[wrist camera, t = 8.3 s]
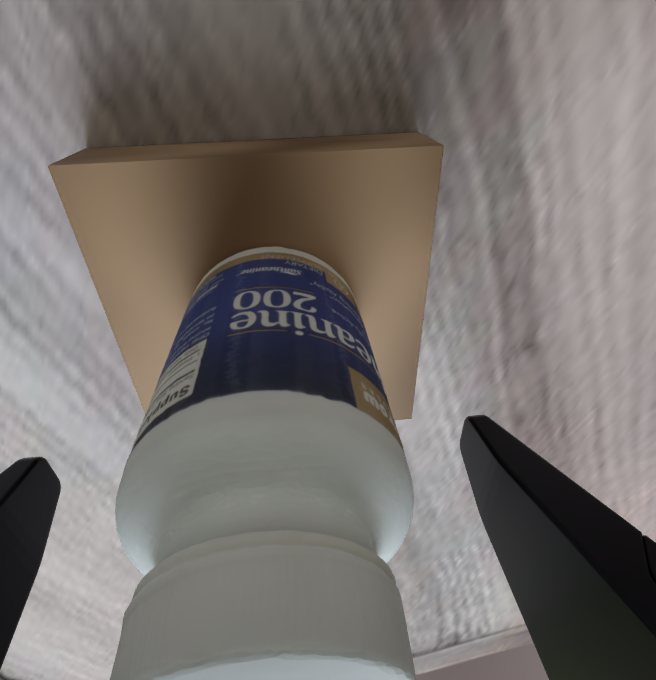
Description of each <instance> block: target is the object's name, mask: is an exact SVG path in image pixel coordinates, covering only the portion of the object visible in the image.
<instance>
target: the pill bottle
mask: <svg viewBox="0 0 656 680" xmlns="http://www.w3.org/2000/svg"><path fill="white" fill-rule="evenodd" d="M413 504H414V495H413V486H412V480H411V474H410V471H409V468H408V464H407V461H406V457H405V454H404V450H403V446H402V443H401V440H400V437H399V434H398V431H397V428H396V424H395V421H394V418H393V415H392V412H391V409H390V406H389V403H388V398H387V395H386V392H385V389H384V386H383V382H382V379H381V376H380V373H379V370H378V367H377V364H376V361H375V358H374V355H373V351H372V348H371V345H370V342H369V339H368V335H367V332H366V329H365V326H364V323H363V320H362V317H361V314H360V311H359V309H358V306H357V302H356V300H355V298H354V295H353V293H352V291H351V289H350V288H349V286H348V284H347V283H346V281H345V280H344V279H343V277H341V276H340V275H339V274H338V273H337V272H336V271H335V270H334V269H333V268H332V267H331V266H329V265H328V264H327V263H325V262H324V261H322V260H320V259H318V258H317V257H315V256H313V255H310V254H308V253H305V252H302V251H298V250H294V249H287V248H283V247H260V248H254V249H250V250H245V251H243V252H240V253H237V254H235V255H233V256H231V257H229V258H227V259H225V260H223V261H222V262H220V263H219V264H217V265H216V266H215V267H214V268H212V269H211V270H210V271H209V272H208V273H207V274H206V275H205V276H204V277H203V279H202V280H201V282H200V283H199V285H198V286H197V288H196V290H195V291H194V294H193V296H192V298H191V300H190V302H189V304H188V307H187V309H186V312H185V314H184V316H183V319H182V322H181V324H180V327H179V330H178V332H177V334H176V337H175V339H174V342H173V344H172V347H171V349H170V352H169V355H168V357H167V360H166V362H165V365H164V368H163V370H162V372H161V375H160V377H159V380H158V383H157V386H156V388H155V391H154V394H153V396H152V399H151V401H150V404H149V407H148V409H147V411H146V414H145V417H144V420H143V422H142V425H141V427H140V429H139V432H138V435H137V438H136V440H135V442H134V445H133V448H132V451H131V454H130V456H129V458H128V460H127V463H126V465H125V468H124V472H123V476H122V479H121V482H120V486H119V489H118V493H117V498H116V509H115V513H116V526H117V532H118V535H119V538H120V541H121V544H122V546H123V548H124V550H125V552H126V553H127V555H128V557H129V558H130V560H131V561H132V563H133V564H134V565H135V567H136V568H137V569H138V570H139V571H140V572H141V573H142V574H143V575H144V578H143V579H142V580H141V581H140V583H139V584H138V586H137V588H136V590H135V592H134V595H133V598H132V601H131V603H130V605H129V606H128V608H127V610H126V611H125V613H124V618H123V625H122V632H121V637H120V641H119V646H118V650H117V654H116V658H115V662H114V666H113V670H112V673H111V677H110V680H416V677H415V670H414V664H413V659H412V653H411V648H410V642H409V637H408V632H407V626H406V621H405V615H404V610H403V605H402V600H401V596H400V592H399V590H398V588H397V586H396V581H395V577H394V575H393V573H392V571H391V569H390V568H389V566H388V565H387V563H388V562H389V560H390V559H391V558H392V557H393V556H394V555H395V553H396V552H397V551H398V549H399V547H400V546H401V544H402V542H403V540H404V538H405V536H406V534H407V532H408V529H409V527H410V523H411V519H412V514H413Z"/></svg>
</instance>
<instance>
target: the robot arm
mask: <svg viewBox="0 0 656 680" xmlns="http://www.w3.org/2000/svg"><path fill="white" fill-rule="evenodd" d="M460 450H461V454H462V457H463V460H464V464H465V467H466V470H467V474H468V477H469V480H470V484H471V487H472V490H473V494H474V497H475V500H476V504H477V507H478V510H479V513H480V516H481V519H482V521H483V524H484V526H485V529H486V531H487V534H488V536H489V538H490V541H491V543H492V545H493V548H494V550H495V553H496V555H497V557H498V560H499V562H500V564H501V567H502V569H503V571H504V574H505V576H506V579H507V581H508V583H509V586H510V588H511V590H512V593H513V595H514V598H515V600H516V602H517V605H518V607H519V609H520V612H521V614H522V616H523V619H524V621H525V624H526V626H527V628H528V631H529V633H530V635H531V638H532V640H533V643H534V645H535V647H536V650H537V652H538V654H539V657H540V659H541V661H542V663H543V666H544V669H545V671H546V673H547V676H548V678H549V680H656V543H655V542H654V541H653V540H651V539H650V538H649V537H647V536H645V535H644V536H642V533H641V532H640V531H639V530H638V529H636V528H635V527H634V526H632V525H631V524H630V523H628V522H627V521H626V520H624V519H623V518H622V517H620V516H619V515H618V514H616V513H615V512H614V511H612V510H611V509H610V508H608V507H607V506H606V505H604V504H603V503H602V502H600V501H599V500H598V499H597V498H595V497H594V496H593V495H591V494H590V493H589V492H587V491H586V490H585V489H583V488H582V487H581V486H579V485H578V484H577V483H575V482H574V481H573V480H571V479H570V478H569V477H567V476H566V475H565V474H563V473H562V472H561V471H559V470H558V469H557V468H555V467H554V466H553V465H551V464H550V463H549V462H547V461H546V460H545V459H543V458H542V457H541V456H539V455H538V454H537V453H535V452H534V451H533V450H531V449H530V448H529V447H527V446H526V445H525V444H523V443H522V442H521V441H519V440H518V439H517V438H515V437H514V436H513V435H511V434H510V433H509V432H507V431H506V430H505V429H503V428H502V427H501V426H499V425H498V424H497V423H495V422H494V421H493V420H491V419H490V418H489V417H487V416H485V415H476V416H468V417H467V418H466V419H465V421H464V426H463V430H462V435H461V439H460ZM60 490H61V485H60V481H59V479H58V477H57V476H56V474H55V472H54V471H53V469H52V468H51V466H50V465H49V463H48V461H47V460H46V459H45V458H43V457H31V458H23V459H20V460H18V461H17V462H15V463H14V464H12V465H11V466H10V467H9V468H7V469H6V470H5V471H3V472H2V473H1V474H0V669H1V666H2V664H3V661H4V659H5V656H6V653H7V651H8V648H9V646H10V643H11V640H12V638H13V635H14V633H15V630H16V627H17V625H18V622H19V620H20V617H21V614H22V612H23V609H24V607H25V604H26V601H27V599H28V596H29V593H30V591H31V588H32V586H33V583H34V580H35V578H36V575H37V572H38V569H39V567H40V564H41V560H42V557H43V554H44V550H45V547H46V543H47V539H48V536H49V532H50V528H51V525H52V521H53V517H54V513H55V510H56V506H57V502H58V499H59V495H60Z"/></svg>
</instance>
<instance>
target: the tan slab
mask: <svg viewBox="0 0 656 680" xmlns="http://www.w3.org/2000/svg"><path fill="white" fill-rule="evenodd" d="M443 147H444V145H442V144H440V143H438V142H436V141H434V140H432V139H431V138H429V137H427V136H425V135H423V134H421V133H419V132H410V133H390V134H370V135H349V136H329V137H309V138H289V139H268V140H248V141H228V142H208V143H187V144H167V145H147V146H127V147H106V148H86V149H84V150H81V151H79V152H77V153H75V154H73V155H70V156H68V157H66V158H64V159H62V160H59V161H57V162H55V163H53V164H51V165H49V166H48V168H49V170H50V173H51V175H52V178H53V181H54V183H55V186H56V188H57V191H58V193H59V196H60V198H61V201H62V203H63V206H64V208H65V211H66V214H67V216H68V219H69V221H70V224H71V226H72V229H73V231H74V234H75V236H76V239H77V242H78V244H79V247H80V249H81V252H82V254H83V257H84V259H85V262H86V264H87V267H88V270H89V272H90V275H91V277H92V280H93V282H94V285H95V287H96V290H97V292H98V295H99V298H100V300H101V303H102V305H103V308H104V310H105V313H106V315H107V318H108V320H109V323H110V326H111V328H112V331H113V333H114V336H115V338H116V341H117V343H118V346H119V348H120V351H121V354H122V356H123V359H124V361H125V364H126V366H127V369H128V371H129V374H130V376H131V379H132V382H133V384H134V387H135V389H136V392H137V394H138V397H139V399H140V402H141V404H142V407H143V410H144V412H145V414H146V411H147V409H148V407H149V404H150V401H151V399H152V396H153V394H154V391H155V388H156V386H157V383H158V380H159V377H160V375H161V372H162V370H163V368H164V365H165V362H166V360H167V357H168V355H169V352H170V349H171V347H172V344H173V342H174V339H175V337H176V334H177V332H178V330H179V327H180V324H181V322H182V319H183V316H184V314H185V312H186V309H187V307H188V304H189V302H190V300H191V298H192V296H193V294H194V291H195V290H196V288H197V286H198V285H199V283H200V282H201V280H202V279H203V277H204V276H205V275H206V274H207V273H208V272H209V271H210V270H211V269H212V268H214V267H215V266H216V265H217V264H219V263H220V262H222V261H223V260H225V259H227V258H229V257H231V256H233V255H235V254H237V253H240V252H243V251H245V250H250V249H254V248H260V247H283V248H287V249H294V250H298V251H302V252H305V253H308V254H310V255H313V256H315V257H317V258H318V259H320V260H322V261H324V262H325V263H327V264H328V265H329V266H331V267H332V268H333V269H334V270H335V271H336V272H337V273H338V274H339V275H340V276H341V277H343V279H344V280H345V281H346V283H347V284H348V286H349V288H350V289H351V291H352V293H353V295H354V298H355V300H356V302H357V306H358V309H359V311H360V314H361V317H362V320H363V323H364V326H365V329H366V332H367V335H368V339H369V342H370V345H371V348H372V351H373V355H374V358H375V361H376V364H377V367H378V370H379V373H380V376H381V379H382V382H383V386H384V389H385V392H386V395H387V398H388V403H389V406H390V409H391V412H392V415H393V418H394V420H402V419H412V410H413V402H414V393H415V385H416V376H417V368H418V359H419V351H420V342H421V334H422V325H423V317H424V308H425V300H426V291H427V283H428V274H429V266H430V257H431V249H432V240H433V232H434V223H435V215H436V207H437V198H438V190H439V181H440V173H441V164H442V156H443Z"/></svg>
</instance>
